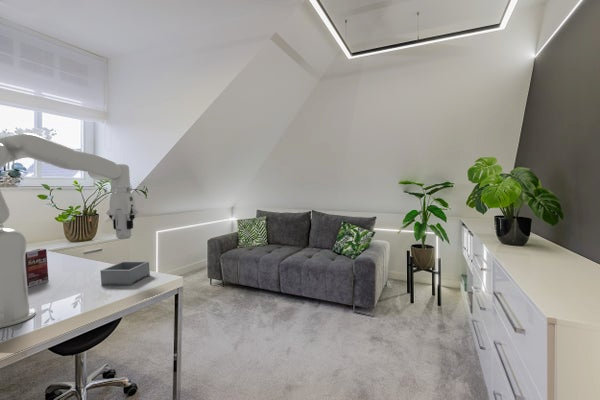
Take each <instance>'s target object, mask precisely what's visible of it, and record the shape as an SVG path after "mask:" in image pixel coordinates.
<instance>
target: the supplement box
mask: <svg viewBox="0 0 600 400" xmlns="http://www.w3.org/2000/svg"><path fill="white" fill-rule="evenodd" d="M47 254H48V253H47V248H38V249H37V248H36V249H31V250H28V251H27V250H26V254H25V267H26V277H27V288H31V287H34V286H37V285H40V284H44V283H47V282H49V269H48V268H49V267H48V256H47Z"/></svg>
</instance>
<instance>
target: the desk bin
mask: <svg viewBox="0 0 600 400" xmlns="http://www.w3.org/2000/svg"><path fill="white" fill-rule="evenodd" d="M150 271H151V270H150V261H120V262H118V263H116V264H113V265H111V266H109V267H106V268H104V269H100V283H101V284H100V285H101V286H106V287H107V286H108V287H110V286H115V287H117V286H118V287H120V286H121V287H122V286H123V287H128V286H129V287H131V286H133V285H135V284H136V283H139V282H140V281H141V280H143V279H146V278H148V277H149V276H150V274H151V272H150Z"/></svg>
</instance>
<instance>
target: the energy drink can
mask: <svg viewBox="0 0 600 400" xmlns="http://www.w3.org/2000/svg"><path fill="white" fill-rule="evenodd" d="M129 216H130V215H129ZM127 221H128V219H127V217H126V215H124V213H123V210H121V209H119V208H118V209H116V210H115V222H116V229H115V235H116V236H115V237H116V238H117V240H126V239H130V238H131V236H132V229H127Z"/></svg>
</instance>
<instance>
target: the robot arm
mask: <svg viewBox="0 0 600 400" xmlns="http://www.w3.org/2000/svg"><path fill="white" fill-rule="evenodd" d="M26 158H28V159H32V160H36V161H38V162H42V163H45V164H48V165H51V166H54V167H57V168H60V169H64V170H69V171H70V170H71V171H82V172H87V175H88V176H89V177H90V178H91V179H93V180H95V181H107V180H108V181H110V189H111V190H110V191H111V194H110V196H109V208H108V210H107V211H106V212H105V213H106V215H107V216H108V217H109V218H110V219H111V221H112V222H113V223H112V225H113V230H116V222H115V210H116V209H118V208H119V209H121V210H123V213H124V215H126V217H127V219H128V221H127V229H131V230H132V229H134V220H135V218H136V217H137V216H138V215H139V213H140V212H139V211H138V210H137V209H136V203H135V198H134V195H133V193H131V192H132V191H133V187H131V180H130V166H129V165H128V164H123V163H122V164H121V163H116V162H114V161H112V160H110V159H107V158H104V157H101V156H99V155H95V154H93V153H92V154H91V153H89V152H85V151H82V150H78V149H74V148H71V147H68V146H66V145H62V144H60V143H57V142H55V141H52V140H49V139H47V138H45V137H42V136H40V135H37V134H35V133H29V132H27V133H26V132H24V133H18V134H13V135H9V136H6V137H5V136H4V137H1V138H0V170H1V168H3V167H4V166H5V165H6V164H8V163H11V162H14V161H17V160H21V159H26ZM10 213H11V212H10V208H9V206H8V204H7V202H6V200H5V198H4V195H3V193H2V191H1V190H0V329H2V328H7V327H10V326H14V325H17V324H21V323H23V322H25V321H27V320H30V319H31V318H33V317H34V316H35V315H36V314H37V313H36V311H37V310H36V309H34V308H30V303H29V290H28V287H27V277H26V267H25V254H26V251H27V239H26V237H25V236H24V234H22V232H20V231H18V230H16V229H14V228H6V227H4V225H3V224H4V223H5V222H7V221H8V219H9V218H10ZM129 215H130V216H129Z"/></svg>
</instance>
